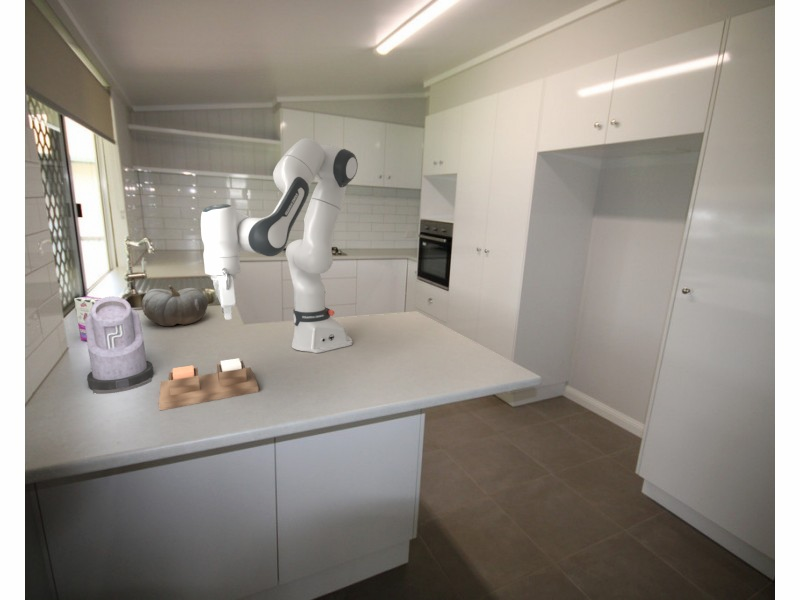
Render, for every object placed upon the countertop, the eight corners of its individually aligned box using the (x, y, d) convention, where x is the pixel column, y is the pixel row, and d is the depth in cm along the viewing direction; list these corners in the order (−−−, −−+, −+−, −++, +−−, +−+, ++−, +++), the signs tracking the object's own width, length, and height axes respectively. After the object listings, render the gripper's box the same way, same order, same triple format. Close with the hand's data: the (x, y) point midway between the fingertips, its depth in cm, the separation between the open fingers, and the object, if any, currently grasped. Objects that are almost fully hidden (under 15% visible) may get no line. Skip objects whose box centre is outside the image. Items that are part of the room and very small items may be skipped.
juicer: (156, 384, 116) (145, 302, 110) (87, 399, 107) (71, 310, 101) (148, 353, 139) (138, 284, 134) (90, 362, 130) (78, 289, 125)
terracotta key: (194, 375, 112) (193, 365, 112) (194, 382, 108) (193, 371, 107) (174, 378, 110) (172, 368, 109) (173, 385, 106) (172, 375, 105)
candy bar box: (113, 340, 151) (107, 298, 147) (99, 344, 146) (92, 301, 142) (94, 336, 155) (87, 295, 151) (80, 340, 150) (72, 298, 147)
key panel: (250, 373, 124) (249, 355, 123) (258, 391, 112) (257, 371, 111) (161, 388, 113) (159, 368, 112) (159, 410, 101) (156, 388, 100)
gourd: (130, 316, 173) (134, 277, 170) (189, 314, 193) (193, 279, 190) (155, 334, 158) (160, 292, 155) (216, 330, 178) (221, 292, 176)
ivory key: (239, 367, 118) (239, 358, 117) (242, 374, 114) (241, 364, 113) (221, 370, 116) (220, 361, 115) (222, 377, 111) (222, 367, 111)
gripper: (240, 271, 100) (244, 324, 103) (230, 260, 118) (234, 306, 121) (212, 273, 97) (217, 327, 100) (207, 262, 115) (211, 308, 118)
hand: (226, 315), depth 111 cm, fingers open, 5 cm apart
